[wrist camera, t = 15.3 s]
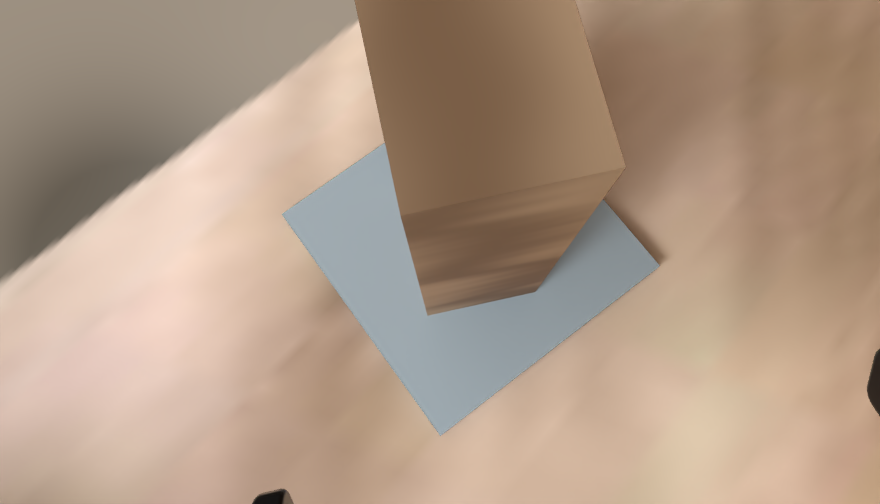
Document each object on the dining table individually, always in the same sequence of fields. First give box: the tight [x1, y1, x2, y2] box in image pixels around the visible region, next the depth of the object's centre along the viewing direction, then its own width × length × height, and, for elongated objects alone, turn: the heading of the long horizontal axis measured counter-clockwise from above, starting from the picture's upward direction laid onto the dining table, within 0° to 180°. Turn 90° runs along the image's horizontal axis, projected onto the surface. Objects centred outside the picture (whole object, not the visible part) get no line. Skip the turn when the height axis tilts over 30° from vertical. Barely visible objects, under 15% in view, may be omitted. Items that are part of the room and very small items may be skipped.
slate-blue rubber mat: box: [282, 143, 660, 436], centre depth 24 cm, size 10×10×1 cm
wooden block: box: [355, 0, 626, 316], centre depth 18 cm, size 4×5×12 cm
